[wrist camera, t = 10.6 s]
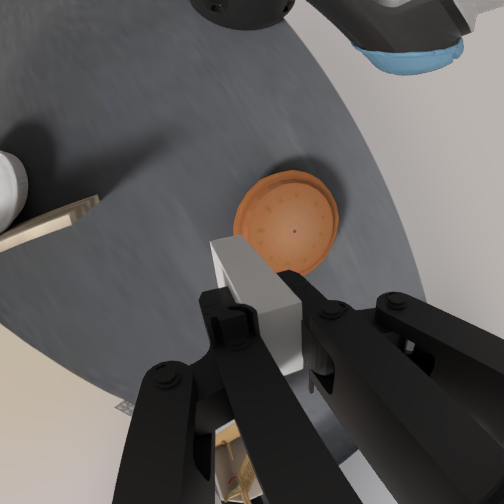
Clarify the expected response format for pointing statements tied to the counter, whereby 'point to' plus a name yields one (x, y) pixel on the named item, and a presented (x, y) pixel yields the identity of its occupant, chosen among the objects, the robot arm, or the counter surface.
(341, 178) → the counter surface
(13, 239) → the scale board
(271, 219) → the pie
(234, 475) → the staircase
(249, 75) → the counter surface
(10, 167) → the ramekin
